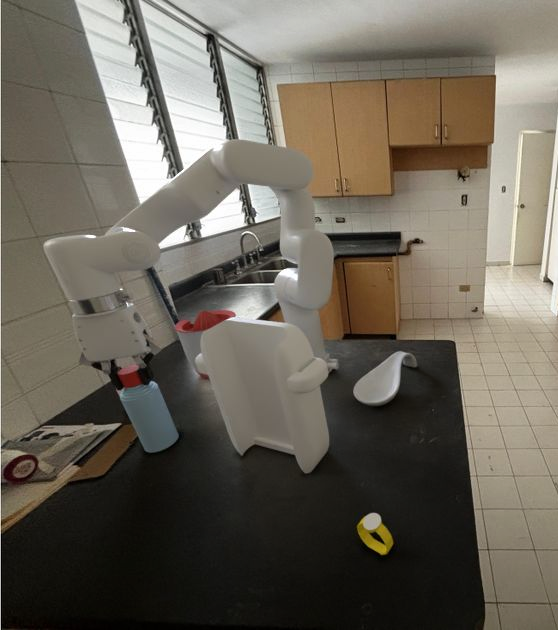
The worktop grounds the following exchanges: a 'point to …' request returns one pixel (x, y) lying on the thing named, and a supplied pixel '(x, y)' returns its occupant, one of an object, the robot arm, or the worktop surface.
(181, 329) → the citrus juicer
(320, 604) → the worktop surface
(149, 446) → the water bottle
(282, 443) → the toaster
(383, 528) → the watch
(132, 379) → the cap
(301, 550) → the worktop surface
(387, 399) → the spoon rest
